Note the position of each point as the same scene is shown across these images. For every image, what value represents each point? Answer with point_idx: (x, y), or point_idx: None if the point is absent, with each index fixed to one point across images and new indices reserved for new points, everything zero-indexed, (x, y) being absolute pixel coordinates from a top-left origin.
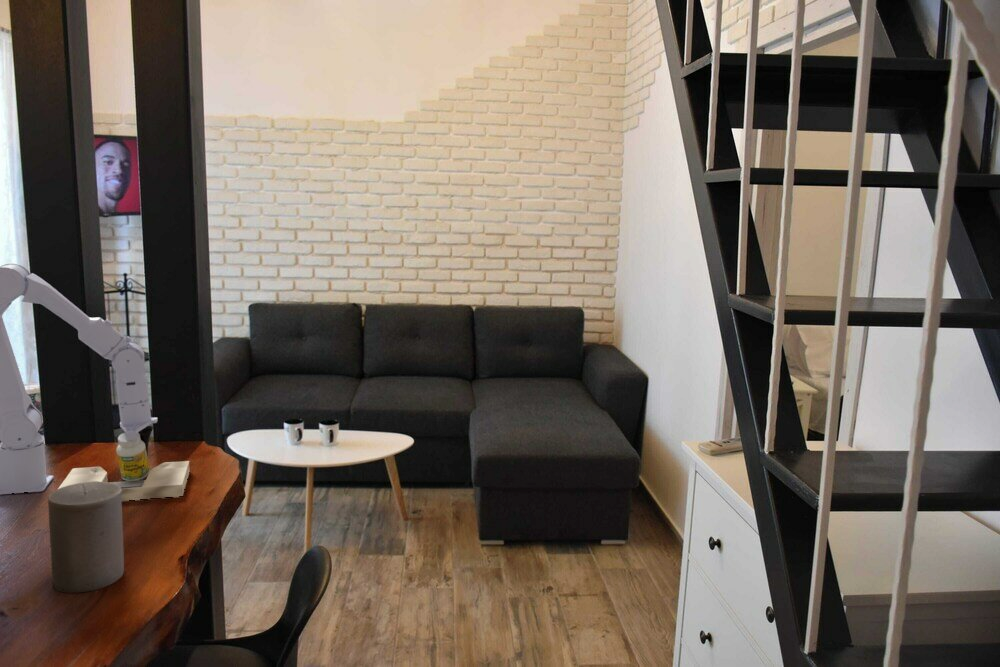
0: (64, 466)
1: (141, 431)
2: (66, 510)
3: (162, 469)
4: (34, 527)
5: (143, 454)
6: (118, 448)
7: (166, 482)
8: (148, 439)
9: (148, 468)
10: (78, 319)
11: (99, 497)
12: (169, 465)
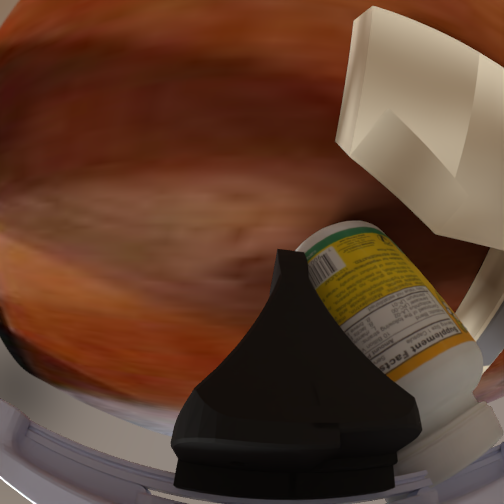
0: (155, 394)
1: (365, 468)
2: None
3: (463, 179)
4: (488, 390)
5: (461, 322)
6: None
7: None
8: (373, 365)
9: (378, 235)
10: None
11: None
12: (421, 131)
